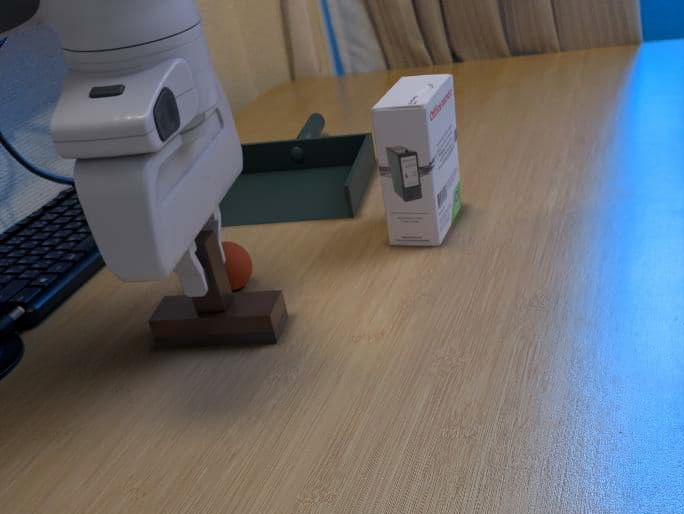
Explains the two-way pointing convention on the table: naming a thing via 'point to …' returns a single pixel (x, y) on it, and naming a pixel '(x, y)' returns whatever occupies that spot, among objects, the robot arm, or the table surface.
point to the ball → (237, 264)
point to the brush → (218, 310)
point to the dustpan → (300, 178)
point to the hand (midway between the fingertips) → (206, 280)
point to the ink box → (418, 159)
